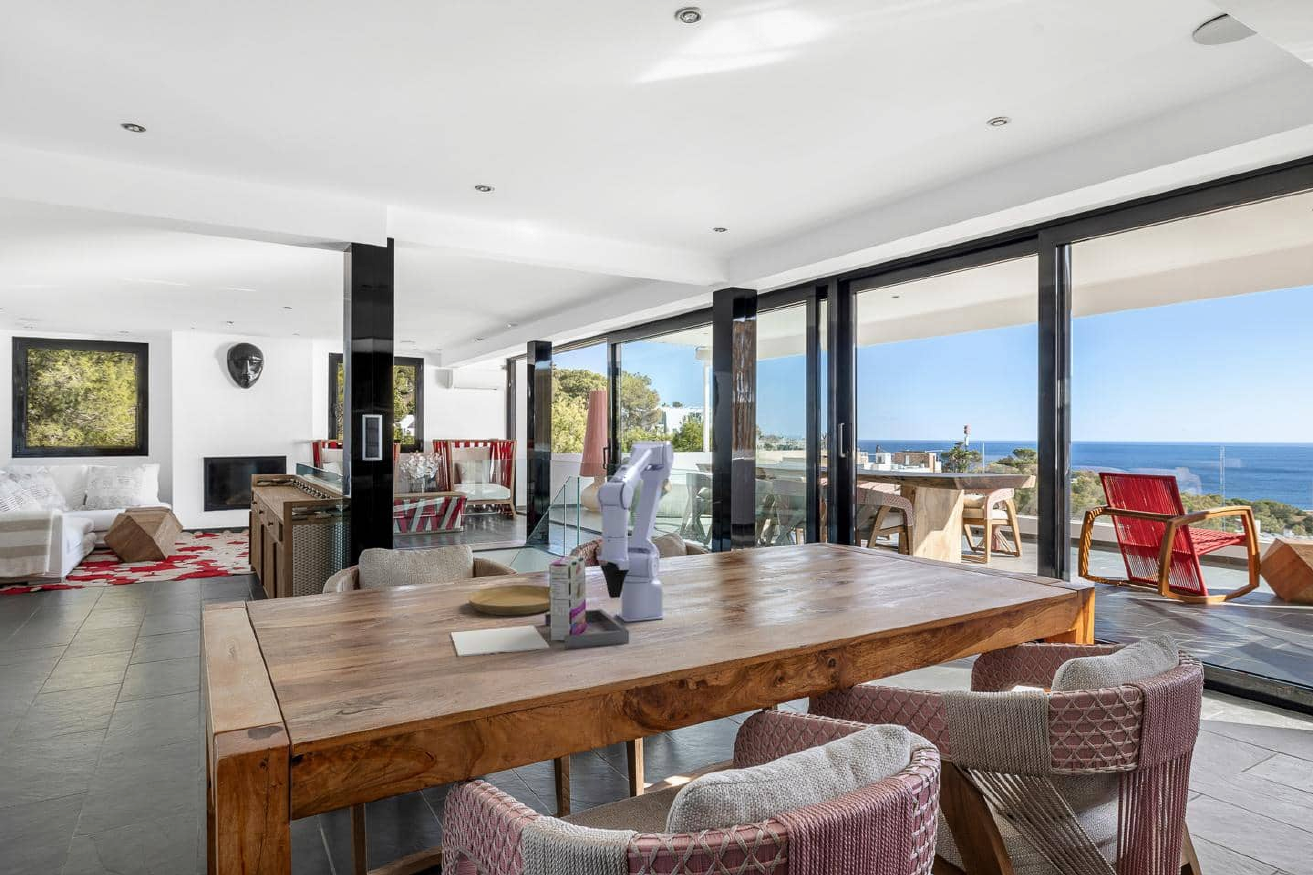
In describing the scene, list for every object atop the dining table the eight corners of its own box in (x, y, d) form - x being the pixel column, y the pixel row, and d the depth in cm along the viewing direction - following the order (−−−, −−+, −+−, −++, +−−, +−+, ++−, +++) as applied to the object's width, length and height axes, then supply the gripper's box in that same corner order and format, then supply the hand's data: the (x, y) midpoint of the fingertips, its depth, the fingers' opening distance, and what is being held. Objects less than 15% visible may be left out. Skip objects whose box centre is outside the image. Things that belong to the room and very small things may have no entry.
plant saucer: (544, 620, 178) (544, 606, 178) (450, 615, 182) (450, 602, 182) (576, 599, 201) (576, 586, 201) (491, 595, 206) (491, 583, 206)
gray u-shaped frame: (601, 619, 177) (601, 608, 177) (628, 642, 157) (628, 630, 157) (544, 624, 173) (544, 613, 173) (565, 649, 153) (565, 636, 153)
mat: (533, 627, 170) (533, 625, 170) (549, 648, 153) (549, 646, 153) (450, 634, 164) (450, 632, 164) (458, 656, 147) (458, 654, 147)
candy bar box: (565, 627, 170) (565, 555, 170) (586, 629, 169) (586, 556, 169) (548, 641, 159) (548, 563, 159) (571, 642, 158) (571, 564, 158)
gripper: (589, 533, 173) (588, 592, 173) (606, 541, 159) (606, 605, 159) (618, 531, 175) (618, 590, 175) (638, 539, 162) (638, 602, 162)
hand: (614, 597), depth 167 cm, fingers closed
